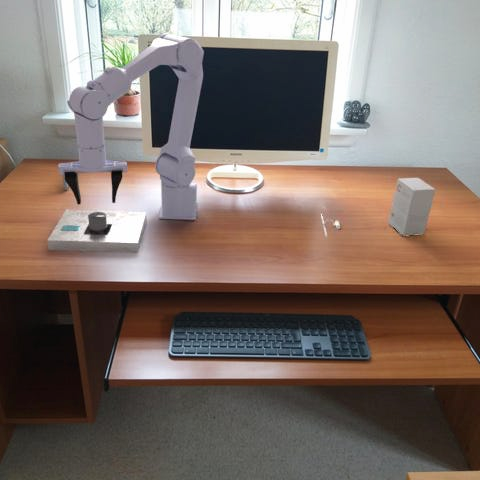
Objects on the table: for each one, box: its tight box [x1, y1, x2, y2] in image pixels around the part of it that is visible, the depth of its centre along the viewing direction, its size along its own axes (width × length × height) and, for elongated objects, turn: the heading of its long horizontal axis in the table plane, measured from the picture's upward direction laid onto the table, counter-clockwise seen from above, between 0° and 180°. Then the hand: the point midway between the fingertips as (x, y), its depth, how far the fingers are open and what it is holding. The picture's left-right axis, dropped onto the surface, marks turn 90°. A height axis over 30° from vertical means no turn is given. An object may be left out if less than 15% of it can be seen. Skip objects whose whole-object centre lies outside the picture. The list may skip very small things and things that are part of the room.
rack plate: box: [46, 208, 148, 253], centre depth 121 cm, size 20×16×3 cm
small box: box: [387, 177, 436, 237], centre depth 130 cm, size 8×6×13 cm
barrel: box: [88, 212, 109, 235], centre depth 118 cm, size 4×4×6 cm
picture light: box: [320, 213, 341, 238], centre depth 132 cm, size 14×4×2 cm, turn 178°
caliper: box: [62, 174, 71, 191], centre depth 150 cm, size 20×1×6 cm, turn 4°
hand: (96, 201), depth 115 cm, fingers open, 7 cm apart
